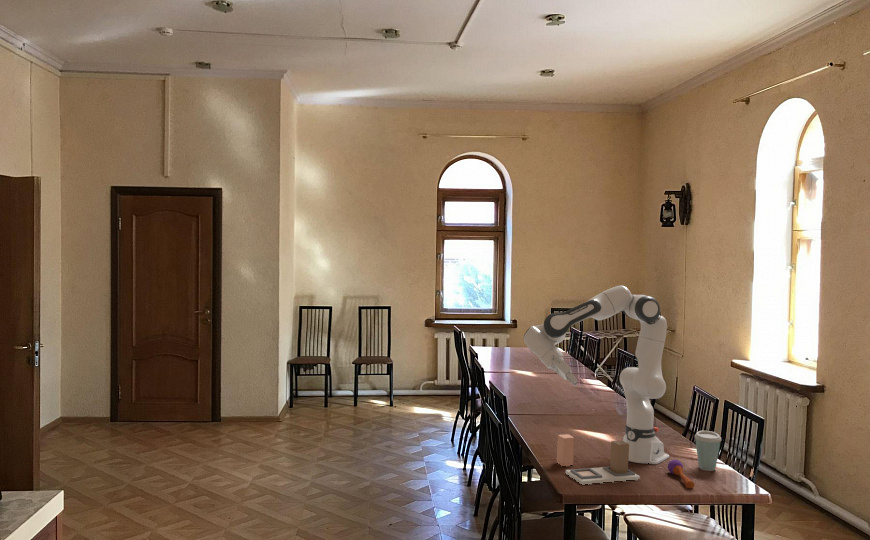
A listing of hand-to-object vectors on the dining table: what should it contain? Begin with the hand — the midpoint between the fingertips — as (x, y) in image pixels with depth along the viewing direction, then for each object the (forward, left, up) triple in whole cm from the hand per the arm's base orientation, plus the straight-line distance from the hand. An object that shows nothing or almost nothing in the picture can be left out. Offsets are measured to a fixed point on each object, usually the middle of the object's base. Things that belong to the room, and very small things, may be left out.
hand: (576, 383), depth 288 cm
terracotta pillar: (+1, -4, -35) cm, 35 cm away
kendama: (-26, +34, -36) cm, 56 cm away
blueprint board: (-1, +15, -35) cm, 38 cm away
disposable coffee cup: (-48, +32, -35) cm, 68 cm away
